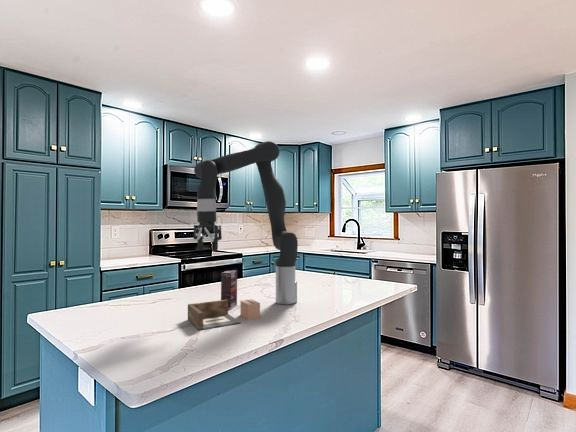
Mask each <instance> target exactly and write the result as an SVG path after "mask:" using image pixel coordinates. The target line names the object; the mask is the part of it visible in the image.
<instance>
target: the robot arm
mask: <svg viewBox="0 0 576 432" xmlns="http://www.w3.org/2000/svg"><path fill="white" fill-rule="evenodd" d="M278 145H279V144H277V143H276V142H274V141H271V140H269V141H268V140H267V141H264V142H261V143H258V144H256V145H255V147H254V148H250V149H246V150H242V151H238V152H232V153H230V154H226V155H222V156H220V157H216V158H214V159H209V160H206V159H205V160H203V161H200V162H198V163H196V164H195V166H194V167H193V172H194V175H195V177H197V178H198V179H200V184H199V185H198V186H197V188H196V191H197V192H196V194H197V195H196V196H197V199H196V200H197V201H196V213H197V214H196V218H197V223H199V224H194V225H193V239H194V240H196V241H197V250H198V251H203V250H204V241H203V240H204V238H205V237H207V236H208V237H209V238H210V239H211V240H210V241H211V250H212V252H217V251H218V248H219V243H218V242H219V241H221V240H222V226H221V224H216V222H217V203H216V185H217V179H218V175H220V174H221V175H222V174H227V173H230V172H233V171H236V170H239V169H242V168H245V167H247V166H250V165H252V164H256V168H257V171H258V174H259V177H260V182H261V185H262V190H263V196H264V200H265V205H266V209H267V213H268V218H269V221H270V222H269V224H270V228H271V236H272V237H271V238H272V243H273V246H274V247H275V248H276V250H279V257H278V258H276V259H275V303H276V304H277V305H279V304H280V305H292V304H295V303H298V282H297V281H296V262H297V259H298V246H299V245H298V238H297V235H296V233H294V232H292V231H287V228H286V224H285V213H286V206H287V205H286V204H287V203H286V196H285V191H284V188H283V185H282V184H281V183H280V181H279V180H278V178H277V177H276V175H275V174H274V171H273V170H274V169H273V165H272V162H273V161H275V160H277V159H278V157H279V156H280V148H279V146H278Z"/></svg>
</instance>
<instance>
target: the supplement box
mask: <svg viewBox="0 0 576 432" xmlns="http://www.w3.org/2000/svg"><path fill="white" fill-rule="evenodd" d="M220 277H221V278H220V280H221V281H220V283H221V284H220V300H228V311H229V310H232V309H233V308H235V307H236V306H237V305H238V270H231V269H230V270H226V271H224V272H221V275H220Z"/></svg>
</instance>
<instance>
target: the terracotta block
mask: <svg viewBox="0 0 576 432" xmlns="http://www.w3.org/2000/svg"><path fill="white" fill-rule="evenodd" d="M240 316H242V317H243V318H244V319H246V320H248V321H249V320H250V321H251V320H256V319H260V318H261V303H260V302H258V301H256V300H255V299H252V298H250V299H242V300H240Z"/></svg>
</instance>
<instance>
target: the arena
mask: <svg viewBox="0 0 576 432" xmlns="http://www.w3.org/2000/svg"><path fill="white" fill-rule="evenodd" d="M187 321H188V322H189V323H190V324H192V325H193V327H195V328H196V329H197V330H198V331H202V330H210V329H215V328H222V327H226V326H227V327H228V326H233V325H240V324H241V322H242V321H239V319H237V318H235V317H234V316H232V315H231V314H229V310H228V300H221V299H219V300H212V301H206V302H205V301H204V302H196V303H188V304H187Z"/></svg>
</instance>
